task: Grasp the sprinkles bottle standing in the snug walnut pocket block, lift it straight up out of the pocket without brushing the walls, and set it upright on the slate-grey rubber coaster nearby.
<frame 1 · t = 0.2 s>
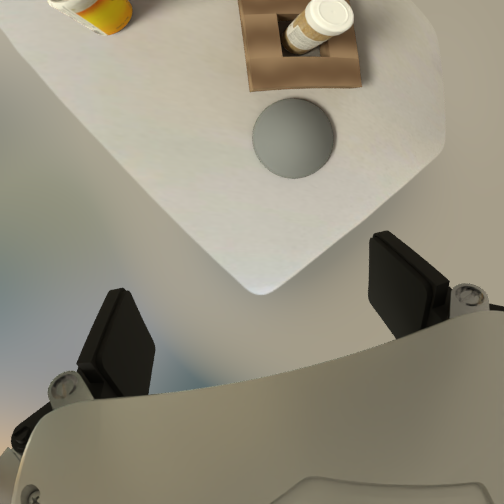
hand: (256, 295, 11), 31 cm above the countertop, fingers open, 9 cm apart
slate coaster: (293, 138, 38), on the countertop
beer can: (113, 18, 27), on the countertop
walnut pocket block: (296, 40, 32), on the countertop
sprinkles bottle: (296, 41, 32), resting in walnut pocket block
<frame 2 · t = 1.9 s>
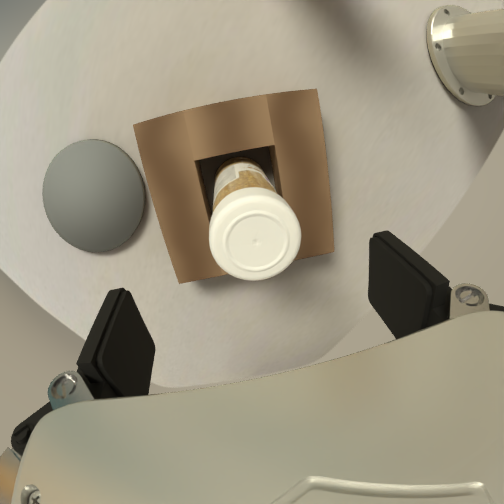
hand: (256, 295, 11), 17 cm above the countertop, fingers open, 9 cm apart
slate coaster: (91, 196, 25), on the countertop
walnut pocket block: (239, 180, 26), on the countertop
sprinkles bottle: (239, 180, 26), resting in walnut pocket block
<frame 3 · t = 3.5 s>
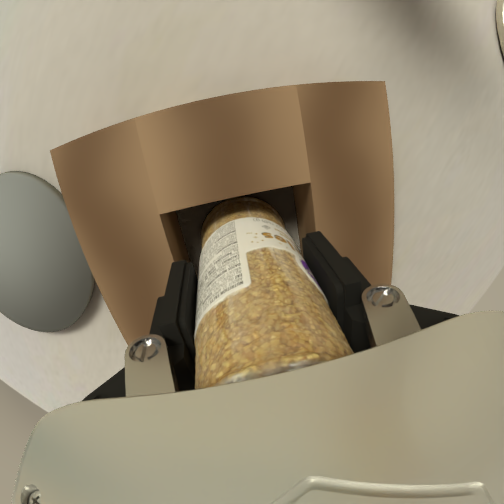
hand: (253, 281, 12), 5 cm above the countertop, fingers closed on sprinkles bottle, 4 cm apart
slate coaster: (23, 256, 15), on the countertop
walnut pocket block: (241, 234, 16), on the countertop
sprinkles bottle: (241, 233, 16), resting in walnut pocket block, touching gripper
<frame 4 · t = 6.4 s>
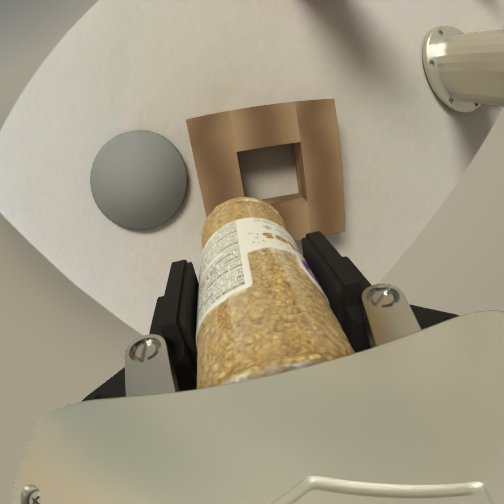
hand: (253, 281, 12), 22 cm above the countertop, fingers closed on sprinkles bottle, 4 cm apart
slate coaster: (137, 180, 30), on the countertop
walnut pocket block: (267, 170, 31), on the countertop
sprinkles bottle: (242, 233, 16), point 17 cm above the countertop, touching gripper
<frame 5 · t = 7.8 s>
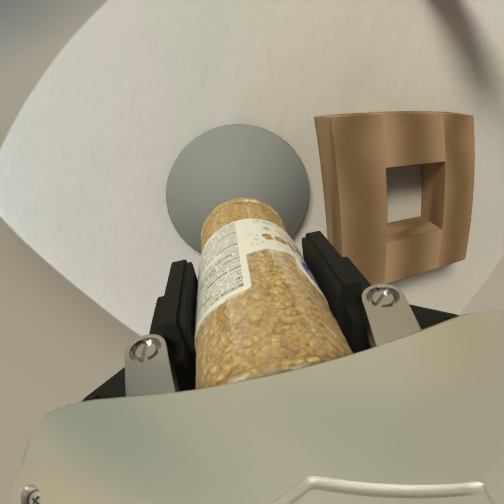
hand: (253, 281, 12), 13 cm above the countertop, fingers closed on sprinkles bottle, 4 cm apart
slate coaster: (237, 194, 23), on the countertop
walnut pocket block: (396, 189, 24), on the countertop
sprinkles bottle: (241, 234, 16), point 8 cm above the countertop, touching gripper
when the fingers open (7 cm above the countertop, at t = 9.1 s): sprinkles bottle drops 1 cm, resting on slate coaster.
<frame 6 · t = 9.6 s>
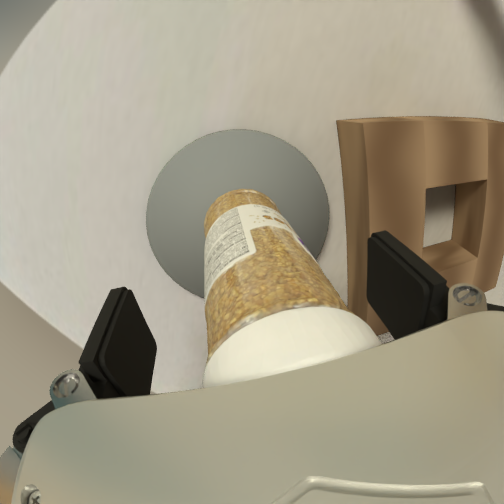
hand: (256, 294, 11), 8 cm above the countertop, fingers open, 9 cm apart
slate coaster: (238, 220, 18), on the countertop
walnut pocket block: (427, 210, 20), on the countertop
sprinkles bottle: (241, 223, 18), point 1 cm above the countertop, touching slate coaster
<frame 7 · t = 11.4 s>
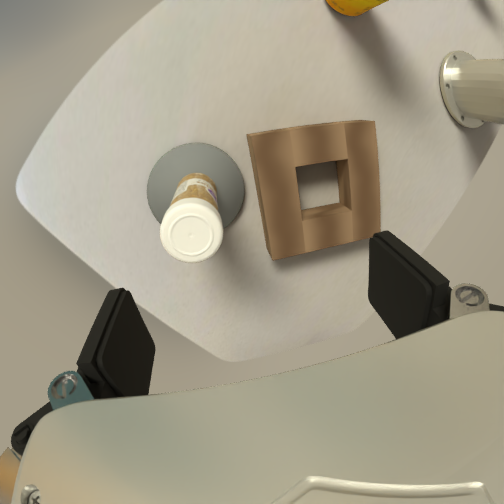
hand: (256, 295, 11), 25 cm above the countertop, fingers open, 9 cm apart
slate coaster: (195, 190, 33), on the countertop
walnut pocket block: (314, 183, 35), on the countertop
sprinkles bottle: (196, 191, 33), point 1 cm above the countertop, touching slate coaster
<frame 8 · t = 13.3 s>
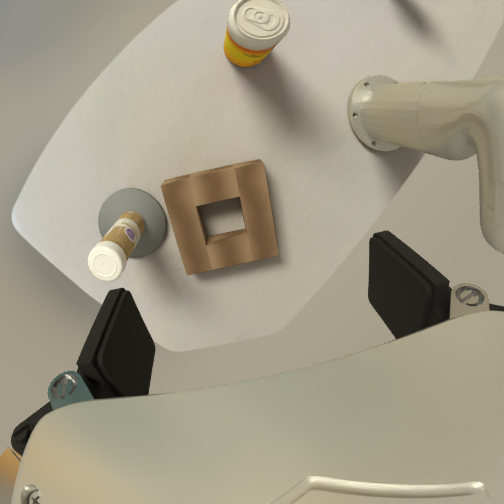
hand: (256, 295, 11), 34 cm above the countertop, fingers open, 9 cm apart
slate coaster: (132, 222, 44), on the countertop
beer can: (245, 49, 35), on the countertop
walnut pocket block: (221, 214, 45), on the countertop
sprinkles bottle: (131, 223, 43), point 1 cm above the countertop, touching slate coaster
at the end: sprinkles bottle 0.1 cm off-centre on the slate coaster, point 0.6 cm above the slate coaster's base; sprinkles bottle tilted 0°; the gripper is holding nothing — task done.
